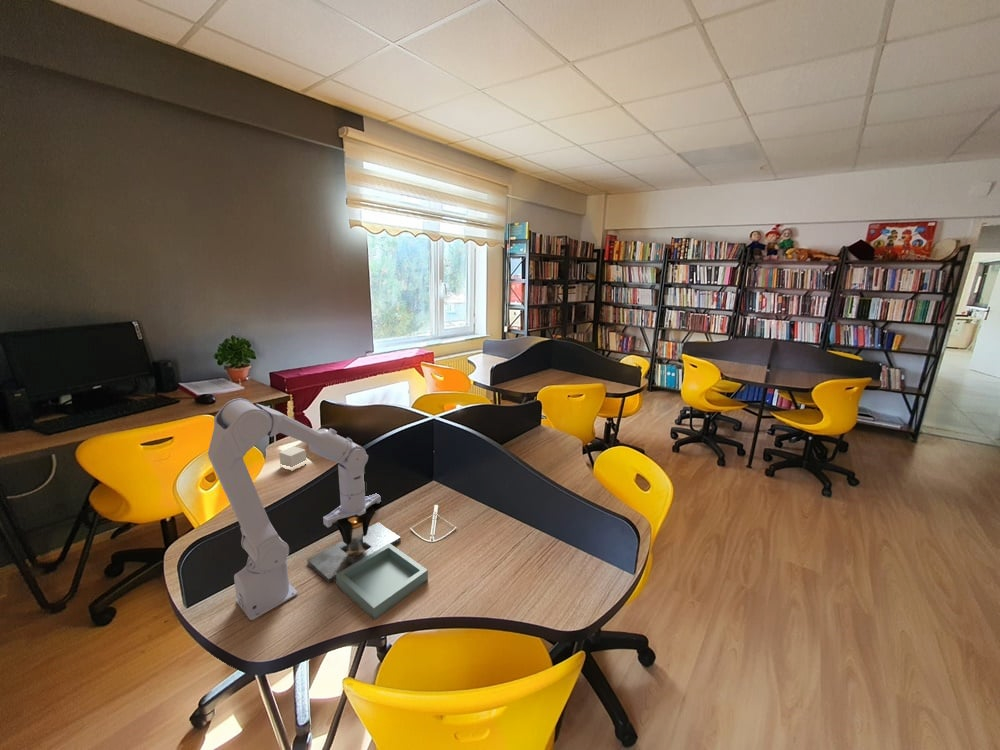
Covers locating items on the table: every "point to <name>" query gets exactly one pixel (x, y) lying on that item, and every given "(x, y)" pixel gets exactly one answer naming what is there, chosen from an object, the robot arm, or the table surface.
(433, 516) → the crossbow
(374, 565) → the tray
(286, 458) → the light grey cube
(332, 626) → the table surface
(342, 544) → the bracket
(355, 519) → the orange-capped cylinder
